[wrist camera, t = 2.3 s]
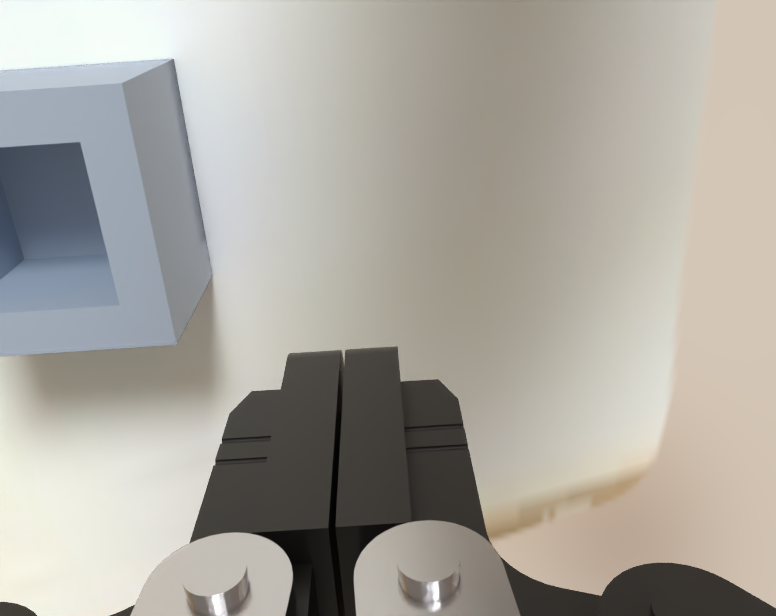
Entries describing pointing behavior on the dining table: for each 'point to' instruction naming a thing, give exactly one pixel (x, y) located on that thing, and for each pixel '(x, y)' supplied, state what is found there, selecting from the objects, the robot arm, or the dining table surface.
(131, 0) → the dining table surface
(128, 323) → the socket block
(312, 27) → the dining table surface
